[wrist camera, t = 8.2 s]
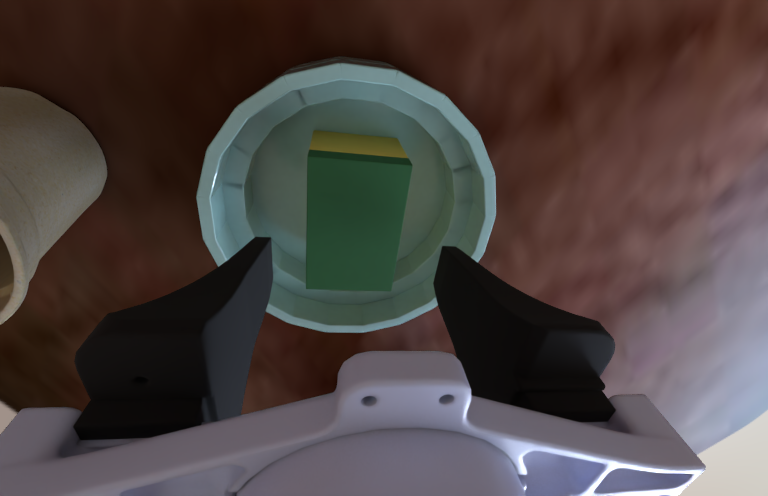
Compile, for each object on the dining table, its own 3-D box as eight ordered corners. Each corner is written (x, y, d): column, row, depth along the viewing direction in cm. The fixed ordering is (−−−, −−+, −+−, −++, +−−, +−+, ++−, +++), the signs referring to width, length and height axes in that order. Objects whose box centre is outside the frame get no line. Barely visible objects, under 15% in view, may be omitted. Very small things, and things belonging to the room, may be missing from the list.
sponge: (382, 247, 23) (391, 291, 19) (311, 244, 22) (305, 289, 18) (398, 137, 19) (413, 164, 15) (313, 129, 18) (307, 156, 15)
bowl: (440, 288, 26) (458, 333, 22) (236, 283, 24) (217, 332, 20) (496, 75, 19) (537, 87, 15) (208, 37, 16) (170, 40, 12)
